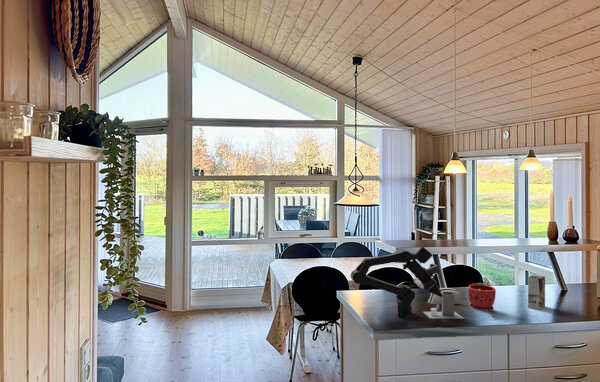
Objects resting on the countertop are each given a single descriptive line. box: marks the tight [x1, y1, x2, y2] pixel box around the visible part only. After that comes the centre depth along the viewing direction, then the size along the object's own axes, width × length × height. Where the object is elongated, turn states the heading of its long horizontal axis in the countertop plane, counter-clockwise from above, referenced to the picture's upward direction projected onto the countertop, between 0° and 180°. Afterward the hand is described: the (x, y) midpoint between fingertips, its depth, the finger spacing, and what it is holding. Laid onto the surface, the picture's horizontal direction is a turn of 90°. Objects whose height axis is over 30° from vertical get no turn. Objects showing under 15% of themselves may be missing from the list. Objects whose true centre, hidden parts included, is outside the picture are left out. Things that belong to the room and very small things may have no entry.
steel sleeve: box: [441, 292, 455, 317], centre depth 203 cm, size 5×5×10 cm
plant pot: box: [467, 284, 497, 313], centre depth 217 cm, size 13×13×12 cm
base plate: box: [423, 307, 464, 319], centre depth 202 cm, size 16×11×4 cm
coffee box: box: [527, 275, 546, 311], centre depth 223 cm, size 9×6×16 cm
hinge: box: [427, 287, 461, 305], centre depth 229 cm, size 17×5×10 cm, turn 98°
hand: (441, 294), depth 203 cm, fingers open, 9 cm apart
